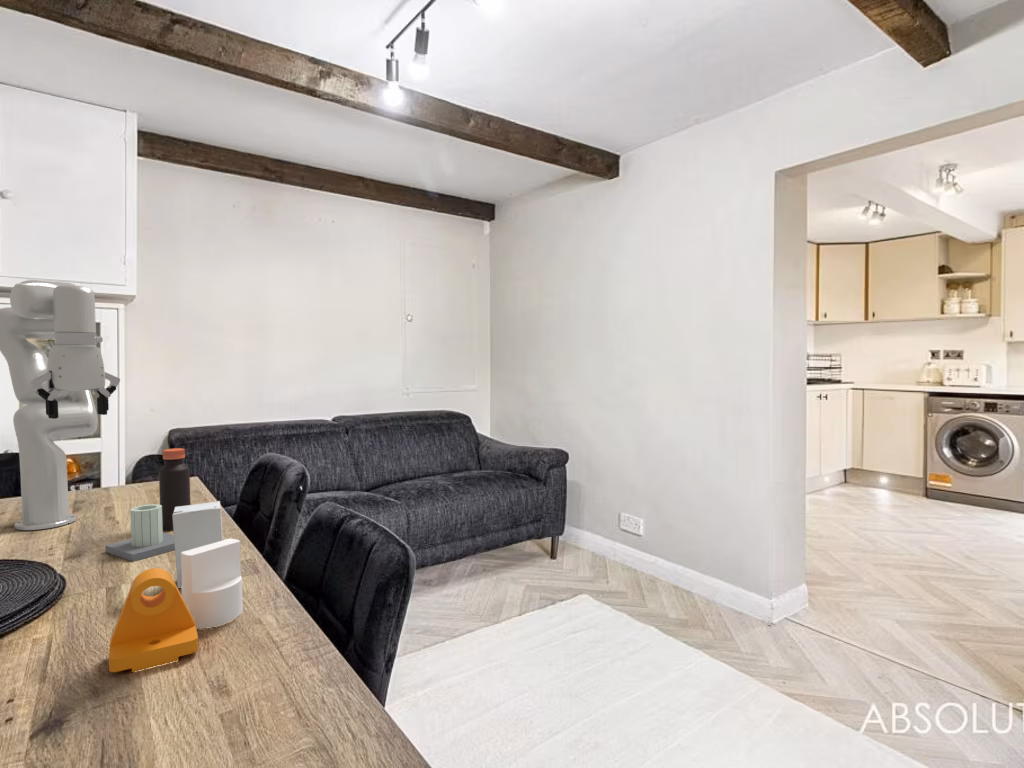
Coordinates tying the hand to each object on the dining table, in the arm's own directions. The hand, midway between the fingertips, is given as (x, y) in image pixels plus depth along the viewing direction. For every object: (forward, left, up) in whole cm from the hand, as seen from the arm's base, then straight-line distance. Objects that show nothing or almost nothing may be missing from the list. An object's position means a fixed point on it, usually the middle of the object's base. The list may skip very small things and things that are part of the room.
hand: (78, 416), depth 132 cm
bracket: (+65, -18, -31) cm, 74 cm away
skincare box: (+43, +2, -31) cm, 53 cm away
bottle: (+2, +20, -31) cm, 37 cm away
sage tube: (+14, +7, -29) cm, 33 cm away
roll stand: (+14, +7, -30) cm, 34 cm away
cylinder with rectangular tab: (+60, -6, -31) cm, 68 cm away
